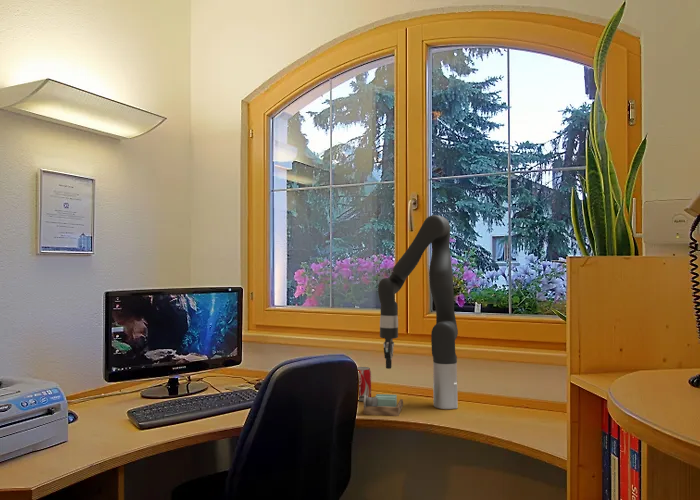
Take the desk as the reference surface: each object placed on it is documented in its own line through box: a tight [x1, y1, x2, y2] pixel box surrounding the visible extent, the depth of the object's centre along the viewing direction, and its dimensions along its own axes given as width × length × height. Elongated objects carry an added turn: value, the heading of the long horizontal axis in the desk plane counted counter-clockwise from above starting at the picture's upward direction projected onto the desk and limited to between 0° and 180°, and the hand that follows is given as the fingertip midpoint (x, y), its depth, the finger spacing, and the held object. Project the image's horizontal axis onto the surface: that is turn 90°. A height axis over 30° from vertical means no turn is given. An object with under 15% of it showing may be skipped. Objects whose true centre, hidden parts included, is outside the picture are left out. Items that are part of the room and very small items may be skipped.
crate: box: [374, 393, 398, 407], centre depth 215 cm, size 8×8×4 cm
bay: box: [360, 395, 404, 417], centre depth 209 cm, size 14×17×7 cm
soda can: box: [357, 366, 372, 402], centre depth 227 cm, size 7×7×13 cm
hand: (388, 368), depth 226 cm, fingers closed
